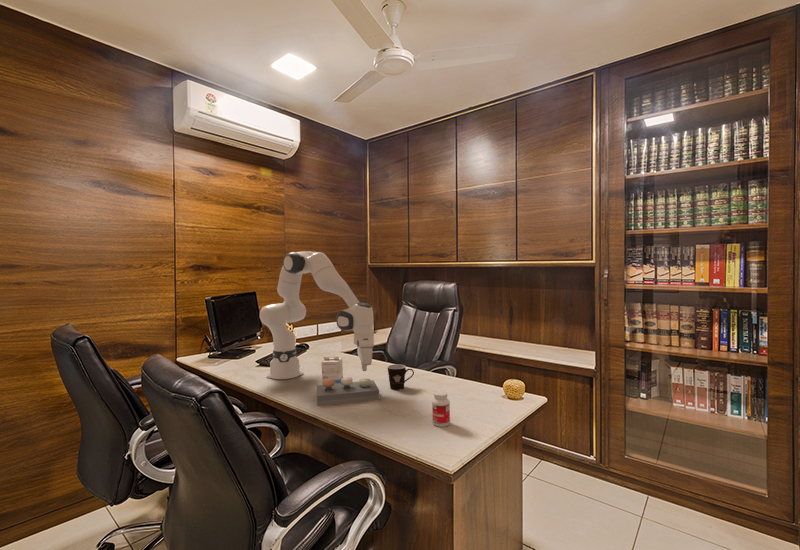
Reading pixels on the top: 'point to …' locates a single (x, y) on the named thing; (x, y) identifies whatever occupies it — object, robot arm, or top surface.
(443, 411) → the pill bottle
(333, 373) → the ink box
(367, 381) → the sage button
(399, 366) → the coffee mug
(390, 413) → the top surface
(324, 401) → the console
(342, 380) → the cream button
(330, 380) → the terracotta button
